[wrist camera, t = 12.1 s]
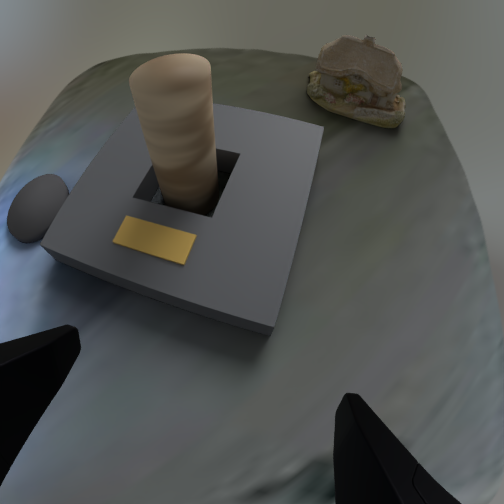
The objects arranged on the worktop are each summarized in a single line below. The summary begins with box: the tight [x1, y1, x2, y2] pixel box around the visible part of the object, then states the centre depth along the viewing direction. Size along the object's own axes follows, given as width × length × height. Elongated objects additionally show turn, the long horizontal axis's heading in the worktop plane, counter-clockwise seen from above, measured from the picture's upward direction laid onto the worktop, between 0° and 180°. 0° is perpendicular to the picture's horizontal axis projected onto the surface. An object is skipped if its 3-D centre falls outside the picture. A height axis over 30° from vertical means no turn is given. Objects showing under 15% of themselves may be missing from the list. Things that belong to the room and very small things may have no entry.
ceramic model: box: [307, 35, 406, 128], centre depth 31 cm, size 14×11×10 cm
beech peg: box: [129, 53, 219, 216], centre depth 21 cm, size 5×5×13 cm
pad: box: [7, 174, 69, 243], centre depth 26 cm, size 8×8×1 cm
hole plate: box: [40, 103, 324, 336], centre depth 26 cm, size 20×20×3 cm
